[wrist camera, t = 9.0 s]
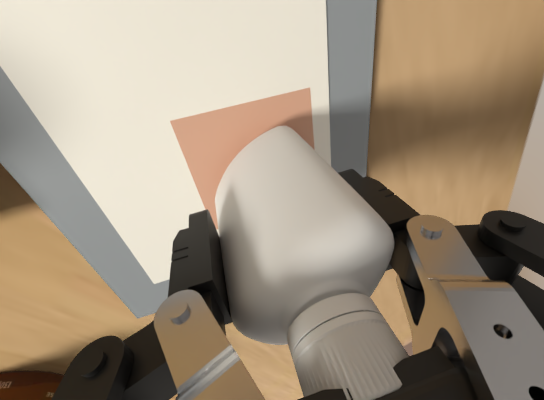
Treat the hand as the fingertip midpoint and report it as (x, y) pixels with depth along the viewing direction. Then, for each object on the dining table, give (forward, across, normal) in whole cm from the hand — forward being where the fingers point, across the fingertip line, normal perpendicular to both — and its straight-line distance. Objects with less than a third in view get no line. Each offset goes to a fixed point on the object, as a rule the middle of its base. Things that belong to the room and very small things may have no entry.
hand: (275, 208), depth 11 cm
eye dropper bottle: (+4, 0, 0) cm, 4 cm away
